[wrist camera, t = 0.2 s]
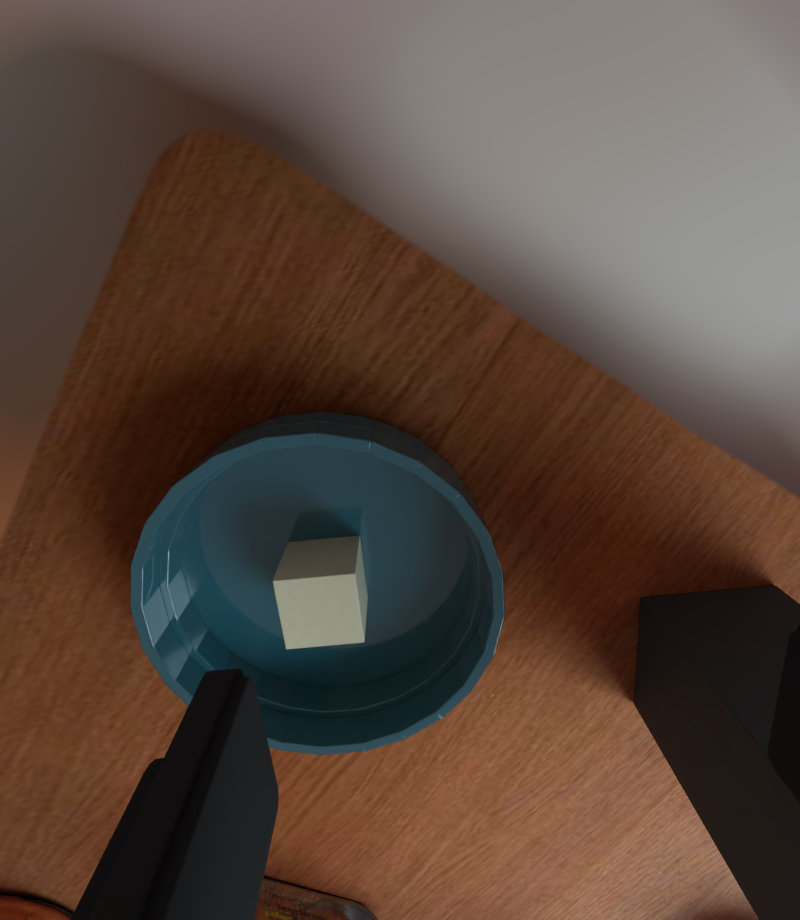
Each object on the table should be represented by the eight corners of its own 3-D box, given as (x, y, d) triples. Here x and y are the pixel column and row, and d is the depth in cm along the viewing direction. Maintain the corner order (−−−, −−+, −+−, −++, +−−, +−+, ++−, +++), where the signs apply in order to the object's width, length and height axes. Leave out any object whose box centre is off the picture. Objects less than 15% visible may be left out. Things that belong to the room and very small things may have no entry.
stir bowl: (131, 427, 27) (82, 454, 23) (481, 394, 27) (498, 415, 22) (205, 704, 33) (178, 767, 29) (493, 679, 33) (509, 739, 28)
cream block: (287, 541, 29) (271, 581, 25) (359, 534, 29) (355, 573, 25) (298, 603, 30) (285, 649, 26) (367, 597, 30) (364, 642, 26)
